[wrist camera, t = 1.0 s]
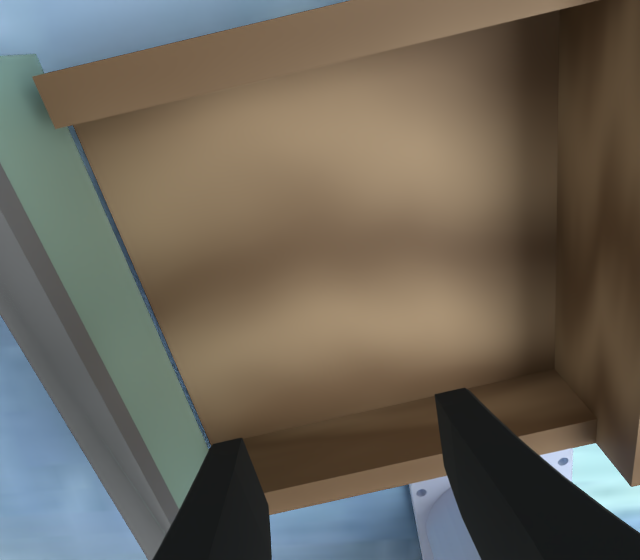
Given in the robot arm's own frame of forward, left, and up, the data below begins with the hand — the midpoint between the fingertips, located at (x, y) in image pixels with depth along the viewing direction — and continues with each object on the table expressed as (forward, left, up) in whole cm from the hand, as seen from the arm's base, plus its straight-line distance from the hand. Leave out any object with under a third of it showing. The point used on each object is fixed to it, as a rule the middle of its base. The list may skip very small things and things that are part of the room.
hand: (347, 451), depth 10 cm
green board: (0, +6, -8) cm, 10 cm away
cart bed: (0, -2, -9) cm, 10 cm away
